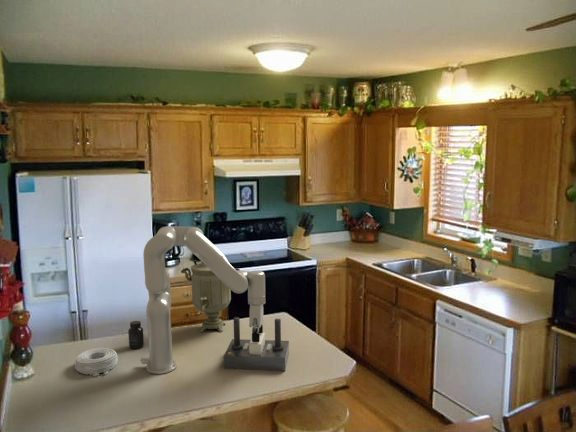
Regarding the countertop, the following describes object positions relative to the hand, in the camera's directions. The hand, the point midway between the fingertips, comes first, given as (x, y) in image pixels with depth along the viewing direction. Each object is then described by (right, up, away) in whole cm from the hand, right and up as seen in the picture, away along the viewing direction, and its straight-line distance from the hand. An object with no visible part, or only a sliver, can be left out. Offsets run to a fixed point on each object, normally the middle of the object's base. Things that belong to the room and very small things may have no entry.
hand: (257, 337), depth 232 cm
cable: (-69, -12, -3) cm, 70 cm away
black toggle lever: (+9, -5, 0) cm, 10 cm away
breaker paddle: (0, -7, +1) cm, 7 cm away
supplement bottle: (-58, -9, +18) cm, 61 cm away
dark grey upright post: (-9, -5, +2) cm, 10 cm away
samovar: (-27, -5, +39) cm, 47 cm away
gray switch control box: (0, -11, +2) cm, 11 cm away
